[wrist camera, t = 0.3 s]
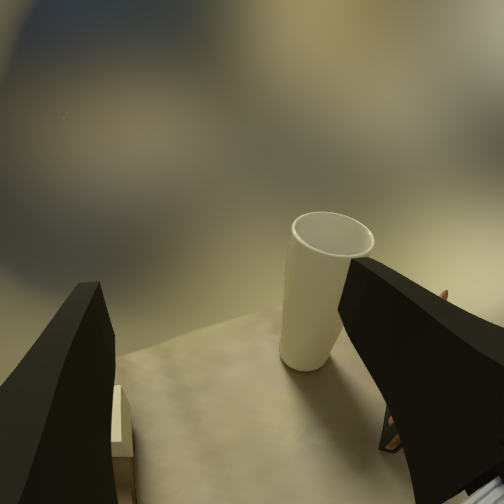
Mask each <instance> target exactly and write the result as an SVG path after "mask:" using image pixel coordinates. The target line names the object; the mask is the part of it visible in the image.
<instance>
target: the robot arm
mask: <svg viewBox="0 0 504 504" xmlns="http://www.w3.org/2000/svg"><path fill="white" fill-rule="evenodd" d="M337 310H338V313H339V315H340V318H341V320H342V323H343V325H344V328H345V330H346V332H347V334H348V337H349V338H350V340H351V342H352V344H353V345H354V347H355V349H356V351H357V352H358V354H359V356H360V358H361V359H362V361H363V363H364V364H365V366H366V368H367V369H368V371H369V373H370V374H371V376H372V378H373V380H374V381H375V383H376V385H377V387H378V388H379V390H380V392H381V394H382V396H383V398H384V400H385V402H386V404H387V406H388V409H389V411H390V414H391V416H392V419H393V421H394V424H395V426H396V429H397V432H398V435H399V437H400V440H401V443H402V446H403V449H404V453H405V456H406V460H407V463H408V467H409V471H410V475H411V480H412V485H413V490H414V496H415V503H416V504H442V503H444V502H445V501H447V500H449V499H451V498H452V497H454V496H456V495H457V494H459V493H460V492H462V491H463V490H465V491H466V493H467V495H468V496H469V497H467V498H466V499H465V500H463V501H462V502H461V503H459V504H504V328H503V327H500V326H498V325H495V324H493V323H490V322H488V321H486V320H484V319H482V318H479V317H477V316H475V315H473V314H471V313H468V312H467V311H465V310H463V309H461V308H459V307H457V306H455V305H453V304H452V303H450V302H448V301H446V300H444V299H442V298H441V297H439V296H437V295H435V294H434V293H432V292H430V291H428V290H427V289H425V288H423V287H422V286H420V285H418V284H416V283H415V282H413V281H411V280H410V279H408V278H406V277H405V276H403V275H401V274H400V273H398V272H396V271H394V270H393V269H391V268H389V267H387V266H385V265H384V264H382V263H380V262H378V261H376V260H374V259H372V258H369V257H361V258H351V261H350V265H349V269H348V273H347V277H346V280H345V284H344V288H343V291H342V295H341V298H340V302H339V305H338V309H337ZM114 380H115V334H114V331H113V328H112V324H111V321H110V318H109V314H108V311H107V307H106V304H105V300H104V297H103V293H102V289H101V285H100V282H99V281H98V282H85V283H78V285H77V286H76V287H75V288H74V290H73V291H72V292H71V294H70V295H69V296H68V298H67V299H66V301H65V302H64V303H63V304H62V306H61V307H60V309H59V310H58V311H57V313H56V314H55V316H54V317H53V319H52V320H51V321H50V323H49V324H48V325H47V327H46V328H45V330H44V331H43V332H42V334H41V335H40V337H39V338H38V339H37V340H36V342H35V343H34V344H33V346H32V347H31V349H30V350H29V351H28V352H27V354H26V355H25V356H24V358H23V359H22V360H21V362H20V363H19V364H18V366H17V367H16V368H15V369H14V371H13V372H12V373H11V374H10V376H9V377H8V378H7V379H6V380H5V382H4V383H3V384H2V385H1V386H0V504H118V498H117V492H116V486H115V479H114V471H113V462H112V452H111V427H112V408H113V393H114Z"/></svg>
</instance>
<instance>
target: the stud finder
mask: <svg viewBox="0 0 504 504" xmlns="http://www.w3.org/2000/svg"><path fill="white" fill-rule="evenodd" d="M111 452H112V457H133V444H132V426H131V405H130V403H129V401H128V399H127V397H126V395H125V393H124V391H123V389H122V387H121V385H117V386H114V393H113V408H112V427H111Z"/></svg>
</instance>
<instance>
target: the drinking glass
mask: <svg viewBox="0 0 504 504" xmlns="http://www.w3.org/2000/svg"><path fill="white" fill-rule="evenodd" d="M374 247H375V239H374V236H373V234H372V233H371V232H370V230H369V229H368V228H367V227H365V226H364V225H363V224H361V223H360V222H358V221H356V220H355V219H352V218H350V217H347V216H344V215H341V214H337V213H331V212H312V213H307V214H304V215H302V216H300V217H298V218H297V219H296V220H295V221H294V222H293V224H292V228H291V233H290V238H289V243H288V249H287V255H286V262H285V272H284V290H283V309H282V325H281V337H280V342H279V354H280V357H281V359H282V360H283V361H284V363H285V364H286V365H288V366H289V367H291V368H292V369H295V370H298V371H303V372H308V371H313V370H316V369H318V368H320V367H322V366H323V365H324V364H325V362H326V361H327V359H328V357H329V355H330V352H331V350H332V348H333V346H334V344H335V342H336V340H337V338H338V336H339V334H340V332H341V330H342V328H343V326H344V325H343V323H342V320H341V318H340V315H339V313H338V310H337V309H338V305H339V302H340V298H341V295H342V291H343V288H344V284H345V280H346V277H347V273H348V269H349V265H350V261H351V258H361V257H369V258H372V255H373V251H374Z"/></svg>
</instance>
